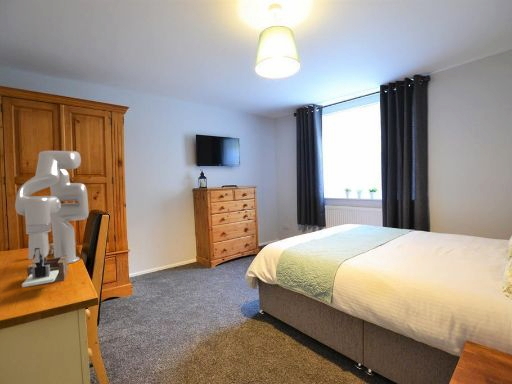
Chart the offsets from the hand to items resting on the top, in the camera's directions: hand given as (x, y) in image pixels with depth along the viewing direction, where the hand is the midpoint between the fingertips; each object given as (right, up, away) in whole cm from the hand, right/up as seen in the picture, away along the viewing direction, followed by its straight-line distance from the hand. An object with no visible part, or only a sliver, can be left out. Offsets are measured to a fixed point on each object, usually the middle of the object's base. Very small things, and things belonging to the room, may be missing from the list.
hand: (41, 274), depth 104 cm
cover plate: (0, -2, 0) cm, 2 cm away
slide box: (-8, -6, +14) cm, 17 cm away
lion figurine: (-41, -6, +54) cm, 67 cm away
